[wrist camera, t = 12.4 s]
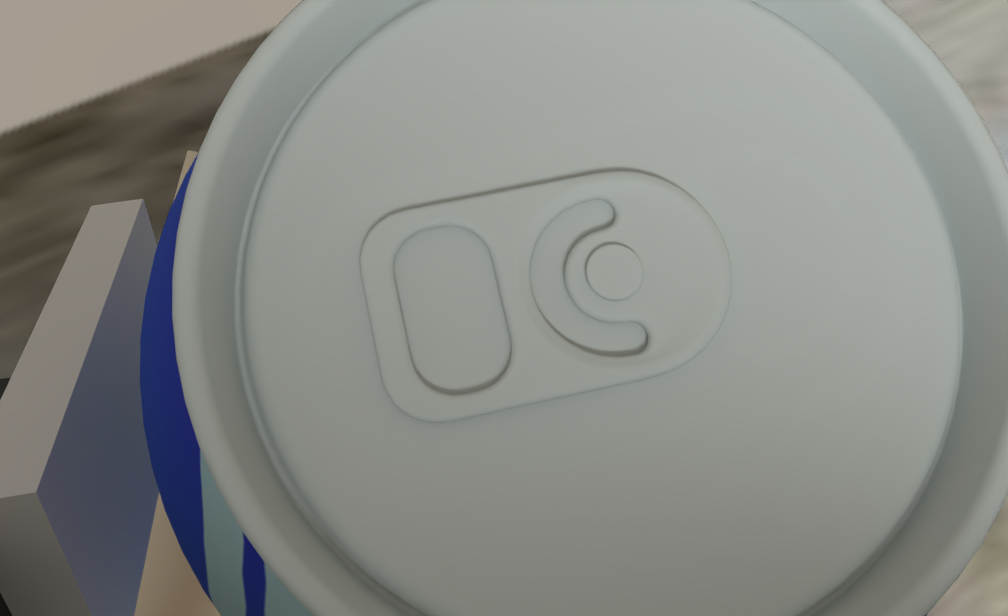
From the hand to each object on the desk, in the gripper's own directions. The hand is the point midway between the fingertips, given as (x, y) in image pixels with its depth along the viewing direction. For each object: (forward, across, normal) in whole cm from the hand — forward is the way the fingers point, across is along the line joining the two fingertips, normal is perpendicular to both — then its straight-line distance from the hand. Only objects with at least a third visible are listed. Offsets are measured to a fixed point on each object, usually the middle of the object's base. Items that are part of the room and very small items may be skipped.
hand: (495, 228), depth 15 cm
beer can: (+4, 0, -8) cm, 9 cm away
